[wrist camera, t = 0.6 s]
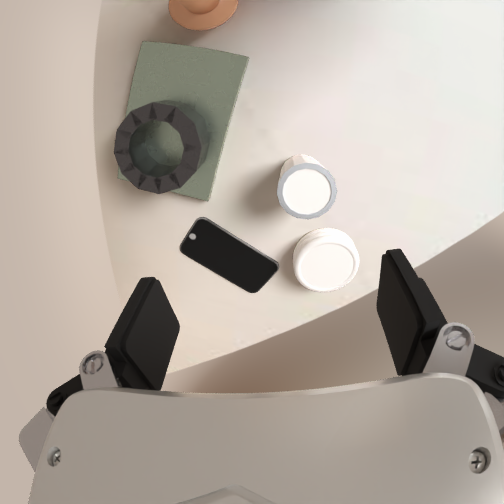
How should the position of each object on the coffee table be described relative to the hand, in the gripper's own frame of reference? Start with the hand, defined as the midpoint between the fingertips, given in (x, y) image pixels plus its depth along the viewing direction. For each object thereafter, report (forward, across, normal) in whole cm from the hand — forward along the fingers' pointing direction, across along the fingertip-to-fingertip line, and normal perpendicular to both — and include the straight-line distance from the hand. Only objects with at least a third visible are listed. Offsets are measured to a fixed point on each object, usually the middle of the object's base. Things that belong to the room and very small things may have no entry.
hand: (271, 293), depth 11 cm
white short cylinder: (+29, -6, +18) cm, 34 cm away
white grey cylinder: (+28, -3, +4) cm, 29 cm away
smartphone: (+29, +9, +16) cm, 34 cm away
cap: (+28, +4, -21) cm, 35 cm away
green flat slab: (+28, +11, -6) cm, 31 cm away
